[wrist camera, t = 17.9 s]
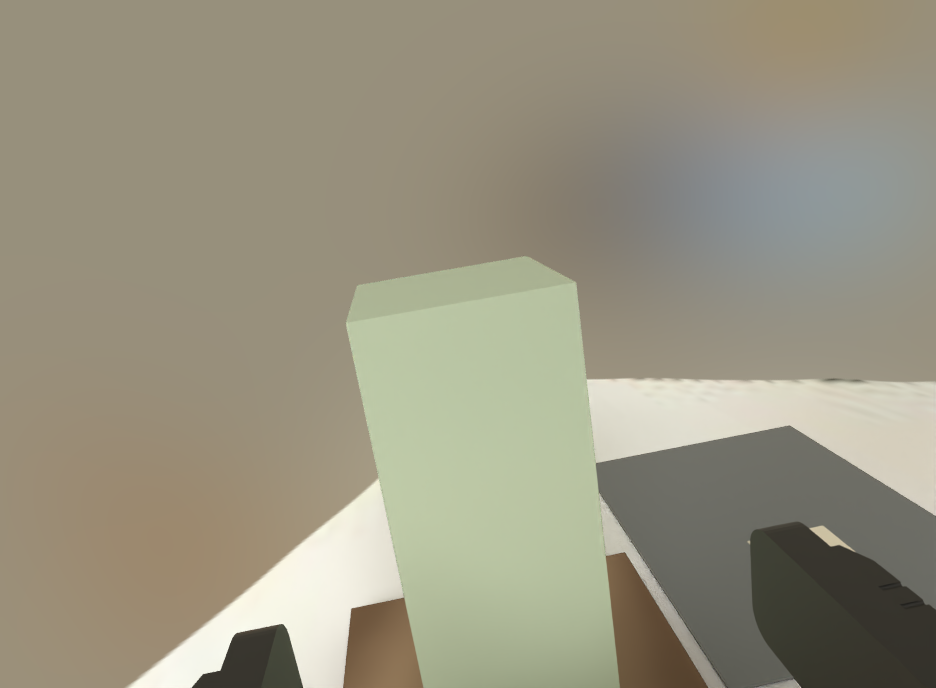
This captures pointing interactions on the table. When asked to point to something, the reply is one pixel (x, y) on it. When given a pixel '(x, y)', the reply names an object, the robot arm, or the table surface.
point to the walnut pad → (634, 621)
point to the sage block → (488, 473)
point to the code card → (749, 508)
